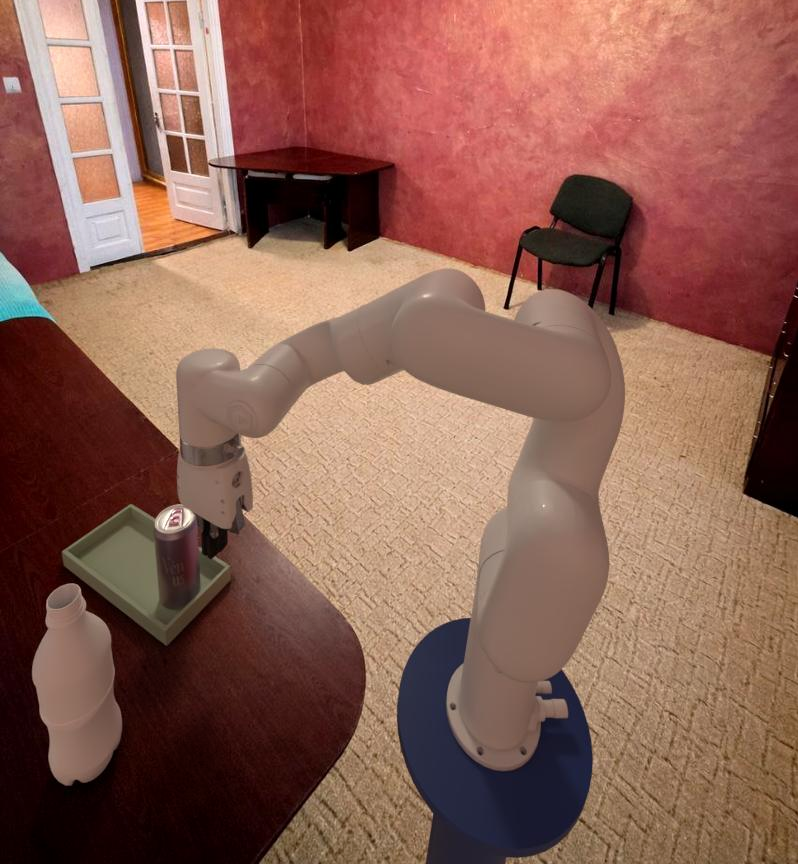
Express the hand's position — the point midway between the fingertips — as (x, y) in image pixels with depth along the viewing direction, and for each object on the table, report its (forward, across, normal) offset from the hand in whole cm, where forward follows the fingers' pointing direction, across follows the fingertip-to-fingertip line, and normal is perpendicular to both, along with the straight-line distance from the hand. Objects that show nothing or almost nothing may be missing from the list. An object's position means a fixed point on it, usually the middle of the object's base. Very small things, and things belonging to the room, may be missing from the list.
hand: (215, 549), depth 69 cm
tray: (+14, +16, 0) cm, 22 cm away
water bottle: (+14, +1, +19) cm, 24 cm away
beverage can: (+14, +8, 0) cm, 16 cm away
